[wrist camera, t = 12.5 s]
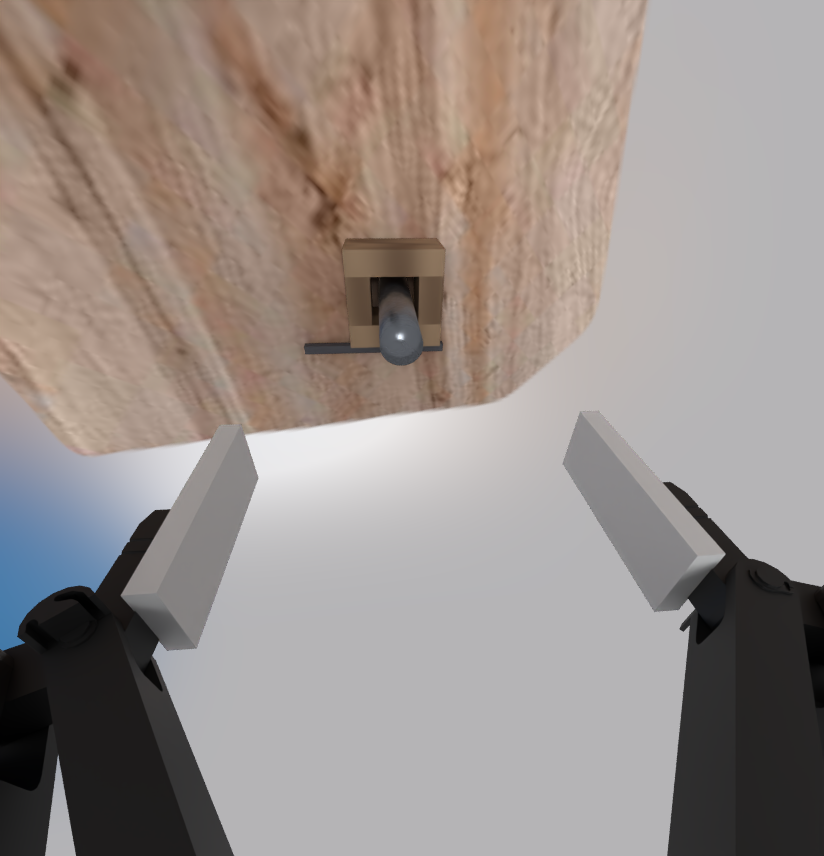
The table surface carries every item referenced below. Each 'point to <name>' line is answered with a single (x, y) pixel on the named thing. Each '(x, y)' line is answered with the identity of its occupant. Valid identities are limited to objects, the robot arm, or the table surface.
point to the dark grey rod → (346, 348)
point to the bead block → (393, 261)
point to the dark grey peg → (398, 322)
